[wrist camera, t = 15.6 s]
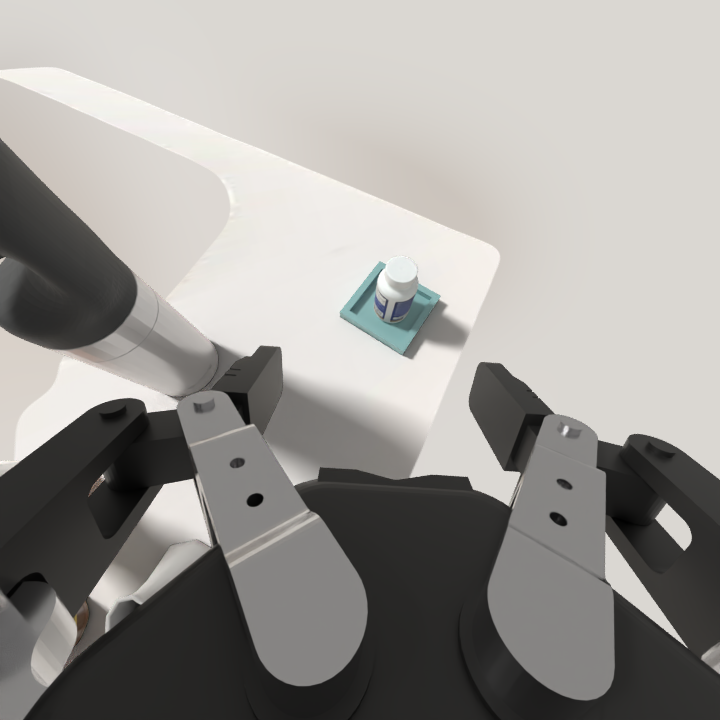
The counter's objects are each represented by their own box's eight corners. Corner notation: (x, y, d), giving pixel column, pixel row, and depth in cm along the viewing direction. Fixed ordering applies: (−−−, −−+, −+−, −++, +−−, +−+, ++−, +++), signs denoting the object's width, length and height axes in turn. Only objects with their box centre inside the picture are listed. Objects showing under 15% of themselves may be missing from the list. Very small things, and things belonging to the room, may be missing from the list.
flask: (167, 534, 35) (100, 560, 25) (228, 543, 35) (184, 572, 25) (143, 609, 32) (59, 670, 23) (209, 619, 32) (153, 683, 23)
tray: (340, 316, 45) (340, 311, 43) (378, 267, 48) (379, 261, 47) (402, 355, 43) (404, 351, 42) (437, 301, 47) (440, 296, 45)
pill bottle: (411, 298, 46) (427, 256, 37) (404, 328, 44) (419, 292, 35) (378, 289, 46) (385, 246, 37) (369, 319, 44) (375, 281, 35)
